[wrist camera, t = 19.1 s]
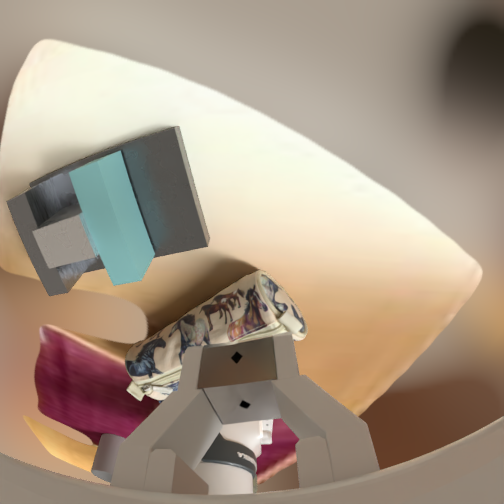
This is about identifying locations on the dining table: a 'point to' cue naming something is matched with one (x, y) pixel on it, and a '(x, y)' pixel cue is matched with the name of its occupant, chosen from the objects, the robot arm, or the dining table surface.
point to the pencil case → (212, 331)
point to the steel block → (65, 238)
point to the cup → (106, 456)
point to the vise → (146, 194)
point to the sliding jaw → (113, 217)
